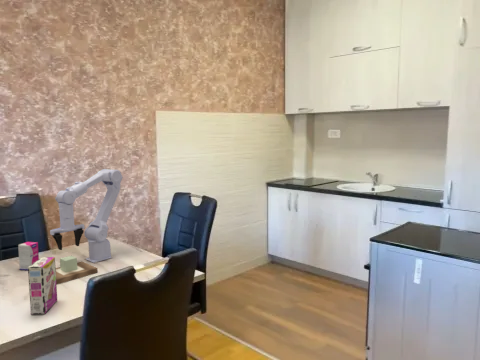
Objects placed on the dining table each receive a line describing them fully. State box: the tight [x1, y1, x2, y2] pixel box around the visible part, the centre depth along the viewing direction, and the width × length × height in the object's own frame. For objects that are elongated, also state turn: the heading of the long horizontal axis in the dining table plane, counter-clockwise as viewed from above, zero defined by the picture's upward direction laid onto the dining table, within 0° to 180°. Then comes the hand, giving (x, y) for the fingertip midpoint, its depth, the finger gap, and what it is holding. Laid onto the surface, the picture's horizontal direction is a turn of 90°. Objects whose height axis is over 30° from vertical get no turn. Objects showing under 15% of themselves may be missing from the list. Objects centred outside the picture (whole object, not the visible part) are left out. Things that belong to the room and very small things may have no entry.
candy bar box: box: [27, 256, 58, 315], centre depth 135 cm, size 11×5×16 cm, turn 5°
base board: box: [56, 261, 99, 286], centre depth 167 cm, size 18×14×2 cm
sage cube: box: [59, 255, 78, 272], centre depth 166 cm, size 5×5×5 cm
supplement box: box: [17, 241, 40, 271], centre depth 175 cm, size 6×6×12 cm
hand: (69, 247), depth 174 cm, fingers open, 7 cm apart
